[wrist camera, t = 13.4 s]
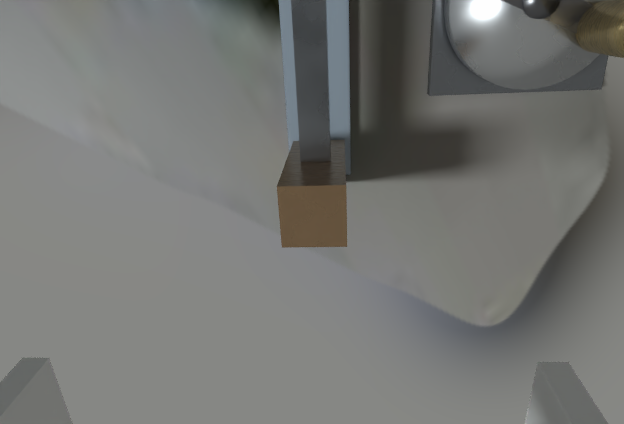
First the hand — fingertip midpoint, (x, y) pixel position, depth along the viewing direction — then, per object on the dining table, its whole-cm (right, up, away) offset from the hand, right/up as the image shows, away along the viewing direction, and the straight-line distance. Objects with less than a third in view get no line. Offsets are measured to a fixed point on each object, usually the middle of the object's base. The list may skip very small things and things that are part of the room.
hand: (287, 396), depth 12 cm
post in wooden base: (+1, +15, +17) cm, 23 cm away
